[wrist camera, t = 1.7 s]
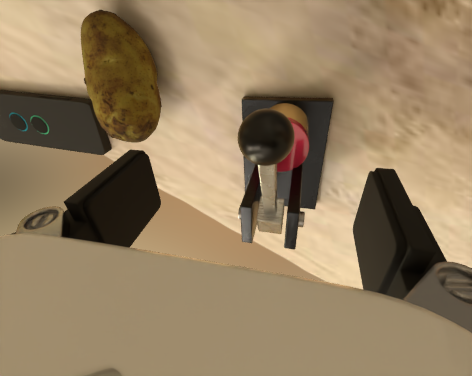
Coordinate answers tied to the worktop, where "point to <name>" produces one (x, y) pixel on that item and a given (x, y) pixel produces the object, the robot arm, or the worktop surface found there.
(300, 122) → the cake
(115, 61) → the potato
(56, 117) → the smart home device
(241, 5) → the worktop surface
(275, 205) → the black ball knob
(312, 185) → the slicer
